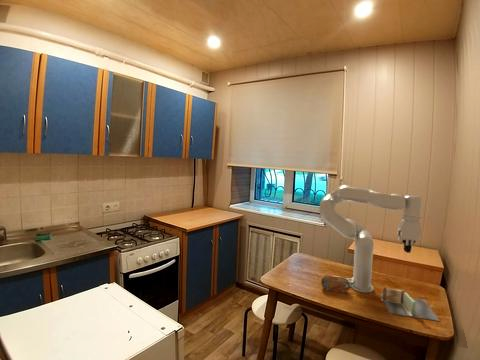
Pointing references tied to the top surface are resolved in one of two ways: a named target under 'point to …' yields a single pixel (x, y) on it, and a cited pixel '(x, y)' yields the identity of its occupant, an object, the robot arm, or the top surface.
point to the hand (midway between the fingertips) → (407, 251)
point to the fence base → (396, 306)
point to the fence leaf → (409, 303)
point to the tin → (335, 283)
